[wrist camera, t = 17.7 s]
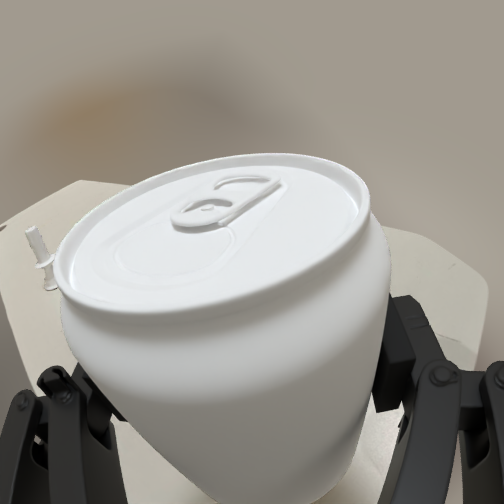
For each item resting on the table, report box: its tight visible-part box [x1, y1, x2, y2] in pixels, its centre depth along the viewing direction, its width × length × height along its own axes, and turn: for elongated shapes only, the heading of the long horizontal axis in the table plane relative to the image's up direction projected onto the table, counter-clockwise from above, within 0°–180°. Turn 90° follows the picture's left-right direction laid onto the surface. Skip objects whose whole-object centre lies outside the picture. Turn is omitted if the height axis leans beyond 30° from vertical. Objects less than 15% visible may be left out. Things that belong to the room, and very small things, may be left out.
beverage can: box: [53, 153, 391, 504], centre depth 10 cm, size 8×8×12 cm
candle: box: [25, 226, 58, 290], centre depth 48 cm, size 5×5×12 cm
